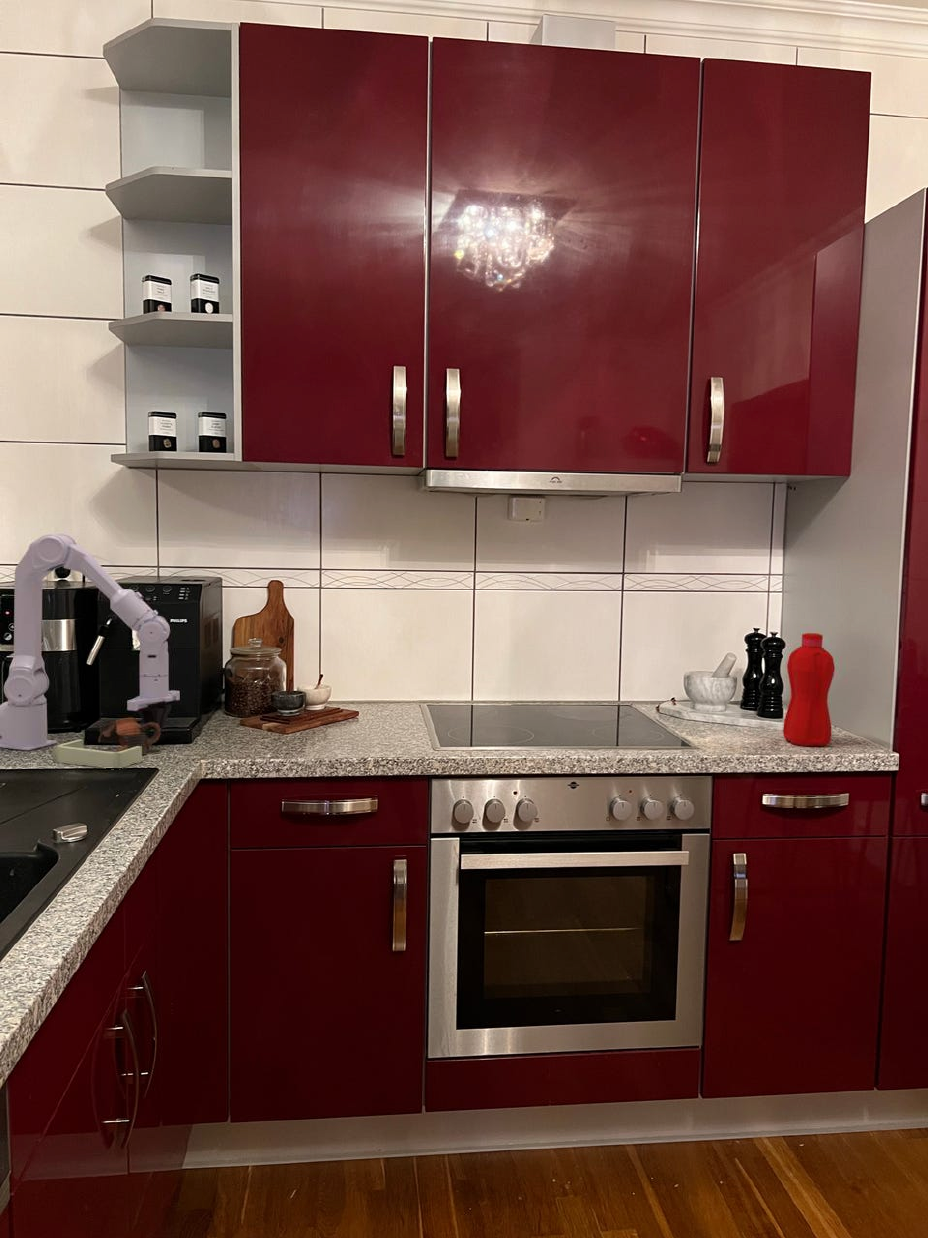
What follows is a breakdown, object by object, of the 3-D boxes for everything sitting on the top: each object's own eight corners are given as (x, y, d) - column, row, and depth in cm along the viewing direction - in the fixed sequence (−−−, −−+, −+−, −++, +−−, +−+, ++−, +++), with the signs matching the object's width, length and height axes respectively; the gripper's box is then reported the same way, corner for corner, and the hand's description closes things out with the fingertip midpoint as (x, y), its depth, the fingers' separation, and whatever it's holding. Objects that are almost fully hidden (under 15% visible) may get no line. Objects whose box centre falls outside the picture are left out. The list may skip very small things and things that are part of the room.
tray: (53, 761, 180) (53, 746, 179) (79, 754, 186) (79, 739, 186) (117, 770, 175) (117, 754, 174) (141, 761, 181) (141, 746, 181)
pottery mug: (104, 764, 181) (92, 724, 183) (108, 774, 190) (96, 736, 192) (167, 744, 186) (154, 706, 188) (167, 754, 194) (156, 718, 196)
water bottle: (813, 737, 219) (819, 630, 216) (835, 747, 208) (842, 635, 205) (775, 736, 218) (780, 630, 216) (795, 747, 207) (801, 635, 205)
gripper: (147, 681, 187) (147, 747, 188) (191, 671, 201) (191, 734, 202) (118, 678, 189) (119, 744, 190) (163, 669, 203) (164, 731, 204)
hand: (154, 739), depth 196 cm, fingers closed
